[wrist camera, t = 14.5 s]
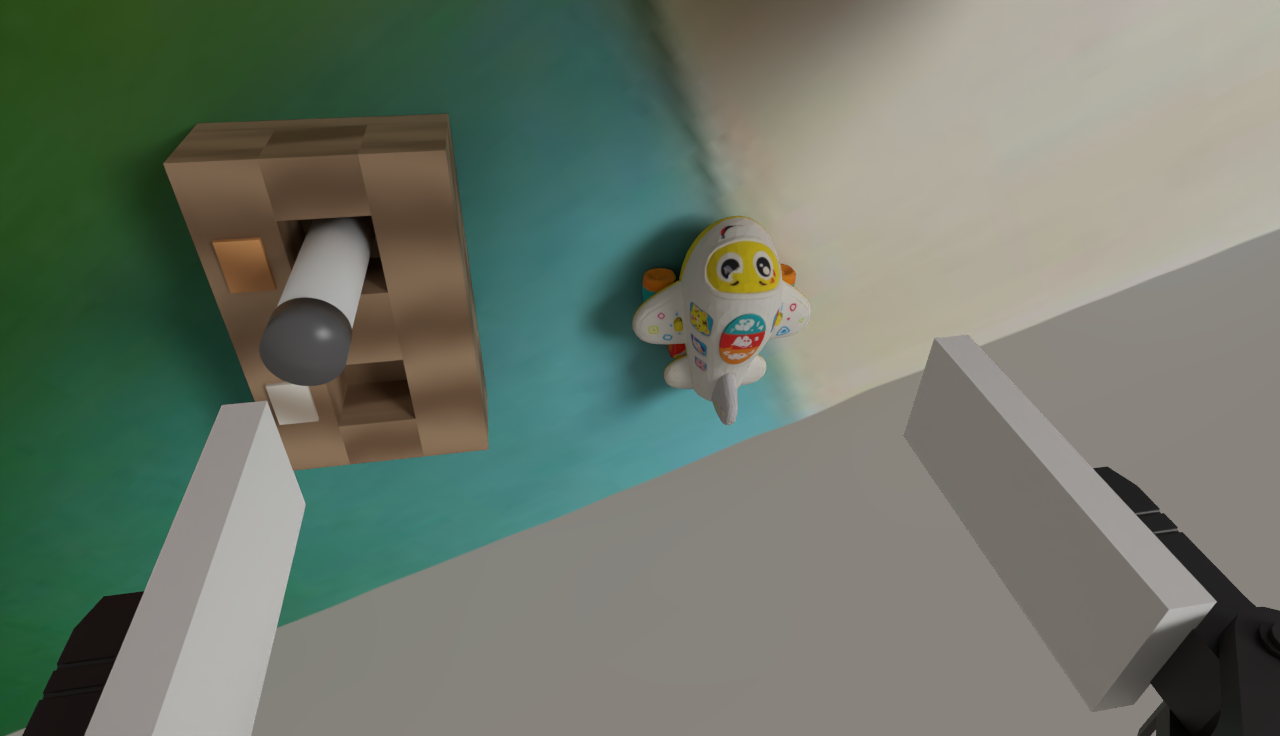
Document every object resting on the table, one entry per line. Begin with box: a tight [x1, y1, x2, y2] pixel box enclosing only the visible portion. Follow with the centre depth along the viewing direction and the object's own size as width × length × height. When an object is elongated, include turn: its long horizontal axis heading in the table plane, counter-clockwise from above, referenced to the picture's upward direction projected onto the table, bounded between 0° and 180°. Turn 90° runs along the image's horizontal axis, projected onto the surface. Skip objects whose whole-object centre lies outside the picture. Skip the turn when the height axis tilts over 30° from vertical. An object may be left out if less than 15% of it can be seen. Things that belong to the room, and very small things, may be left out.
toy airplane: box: [632, 216, 811, 425], centre depth 52 cm, size 13×9×15 cm
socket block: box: [163, 114, 489, 470], centre depth 47 cm, size 22×14×6 cm, turn 179°
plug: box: [259, 216, 375, 386], centre depth 40 cm, size 4×4×14 cm
